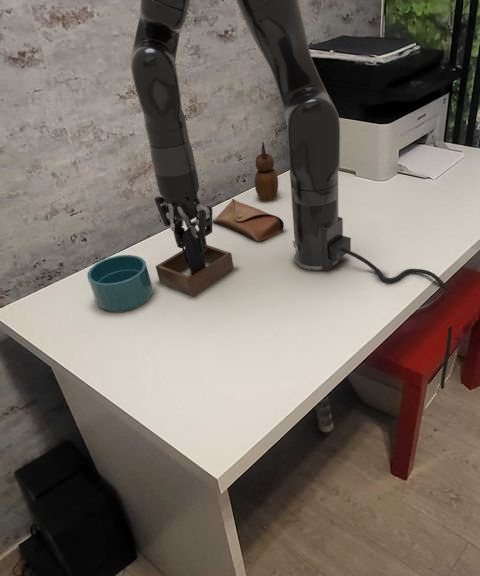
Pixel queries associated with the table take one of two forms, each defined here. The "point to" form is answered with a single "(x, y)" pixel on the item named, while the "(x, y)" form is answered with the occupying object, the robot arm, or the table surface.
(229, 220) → the sunglasses case
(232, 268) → the wooden frame
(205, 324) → the table surface
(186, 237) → the two-way radio
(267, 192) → the wooden figurine
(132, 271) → the teal round bowl
